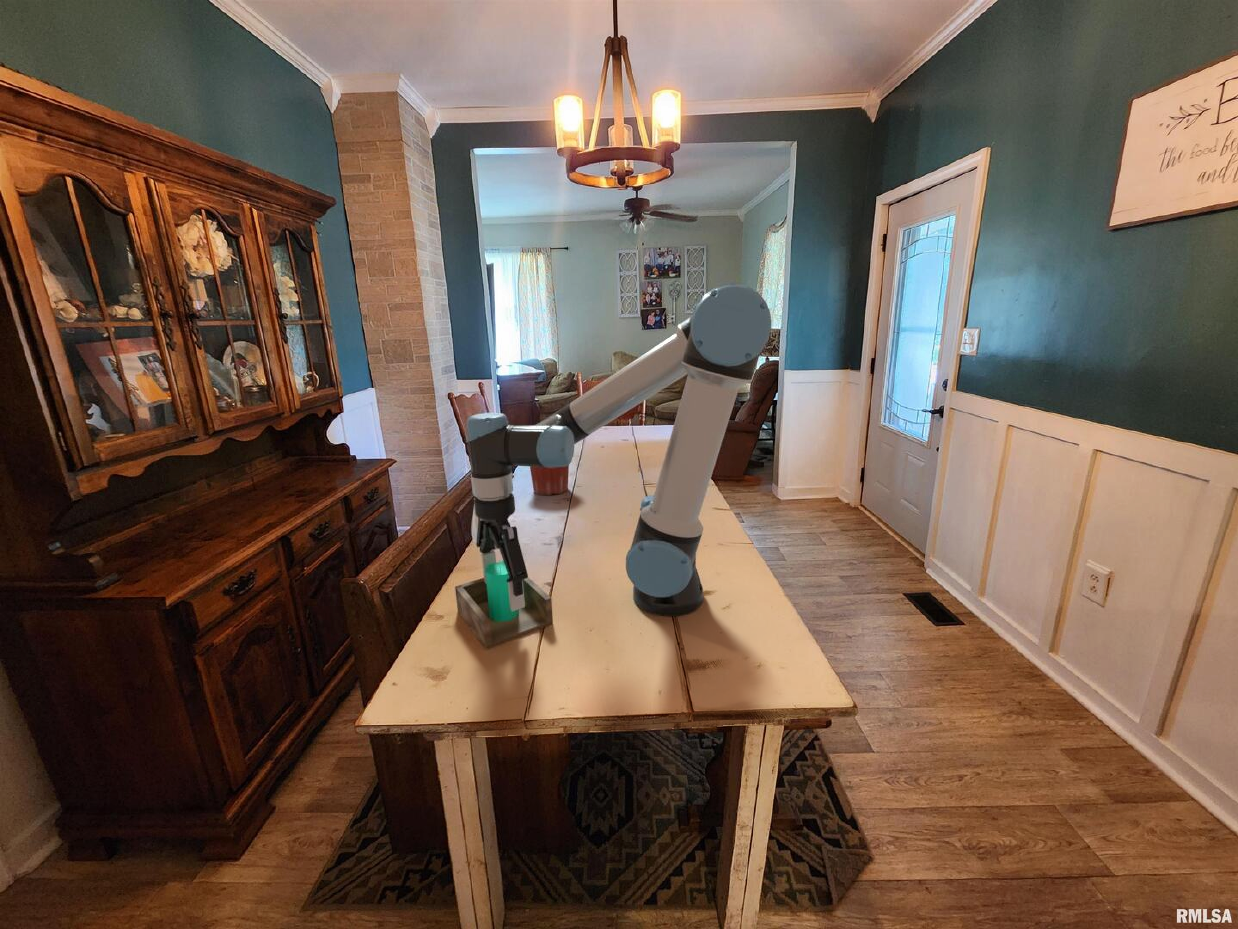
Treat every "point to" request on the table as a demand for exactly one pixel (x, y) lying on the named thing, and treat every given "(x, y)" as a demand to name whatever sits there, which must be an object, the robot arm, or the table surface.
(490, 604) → the candle
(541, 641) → the table surface
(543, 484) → the flower pot
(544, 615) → the tray
